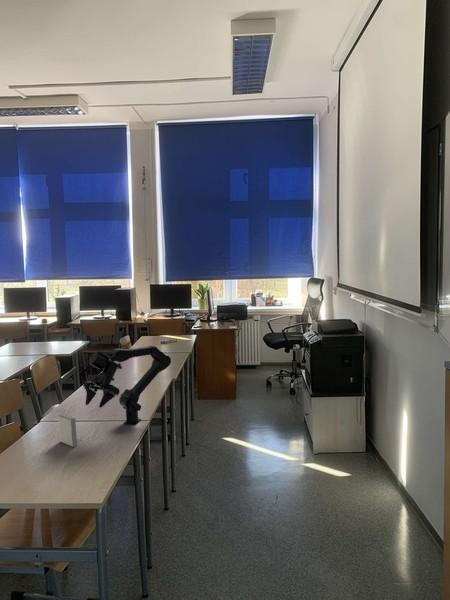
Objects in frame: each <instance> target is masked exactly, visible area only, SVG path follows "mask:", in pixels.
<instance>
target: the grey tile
mask: <svg viewBox="0 0 450 600" xmlns="http://www.w3.org/2000/svg"><path fill="white" fill-rule="evenodd" d="M58 431H59V433H58V434H59V441H60V443H62V444H65V445H67V446H69V447H72V448H75V447H77V446H78V441H77V440H78V439H77V427H76V417H73V416H71V415H68V414H64V413H60V414H58Z"/></svg>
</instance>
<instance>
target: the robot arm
mask: <svg viewBox="0 0 450 600" xmlns="http://www.w3.org/2000/svg"><path fill="white" fill-rule="evenodd" d="M144 356H150V357H151V358H152V359H153V360H152V362H151V363H152V364H151V366H150V367H149V368H148V370H147V371H146V372H145V373H144V374H143V375H142V377H141V378H140V379H139V380H138V381H137V382H136V384H134V386H133V387H132V388H131V389H128V388H125V390H124V391H123V392H122V393H121V394H120V389H119V387H116V386H115V385H114V384H111V383H112V382H115V378H114V376H115V375H116V373H117V370H122V369H123V367H122V363H123V362H126V361H128V360H129V359H132V358H138V357H139V358H140V357H144ZM88 363H89V365H91V366H93V367H95V368H96V369H98V370H102V371H101V372H98V373H97V374H96V375H95V374H88V375H87V380H86V381H85V382H84V383H83V385H82V387H84V390H85V392H86V396H85V397H86V398H85V405H86V406H88V405H89V404H90V403H91V402H92V400H93V399H94V398H95V397H96V395H97V392H98V391H102V394H103V395H102V397H101V400H100V402H99V405H98V407H99V408H100V409H101V408H102V407H104V406H105V405H106V404H107V403H109V401H111V400H112V399H114V398H116V396H119V394H120V397H119V398H118V399H119V400H118V402H119V405H120V406H122V409H124V410H125V420H124V422H123V424H124V425H137V424H138V423H139V422H140V421H142V418H139V411H141V409H142V405H141V404H139V403H138V402H139V401H140V396H141V395H142V393H143V392H144V391H145V389H146V388H147V387H148V386H149V385H150V384H151V383H152V381H153V380H154V379H155V378H156V377H157V376H158V374H160V373H161V372H163V371H164V370H166V369H167V368H168V367H170V365H171V363H172V359H171V356H169V355H167V354H166V353H164V352H162V351H161V350H160V349H159V348H158V347H157V346H154V345H148V346H142V347H137V348H136V347H135V348H113V349H111V350H110V352H108V353H106V354H103V353H102V352H101V351H99V350H96V351H95V353H93V354H91V356H90V357H89V359H88Z"/></svg>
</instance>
